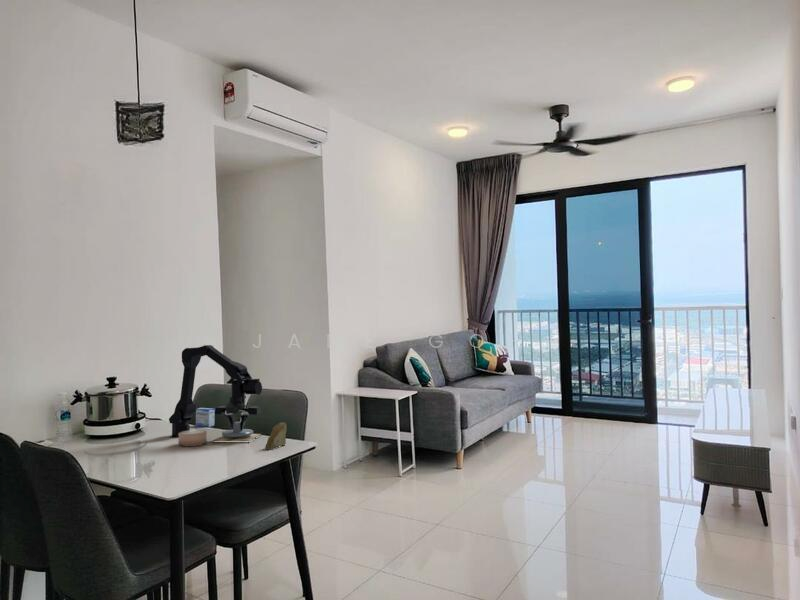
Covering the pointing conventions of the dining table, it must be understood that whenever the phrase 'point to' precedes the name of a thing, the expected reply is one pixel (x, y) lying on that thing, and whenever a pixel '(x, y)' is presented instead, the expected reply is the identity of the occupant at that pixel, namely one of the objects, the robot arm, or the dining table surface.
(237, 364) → the robot arm
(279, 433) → the rock
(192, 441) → the bowl
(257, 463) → the dining table surface
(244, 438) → the board
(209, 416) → the medicine box
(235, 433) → the lid
